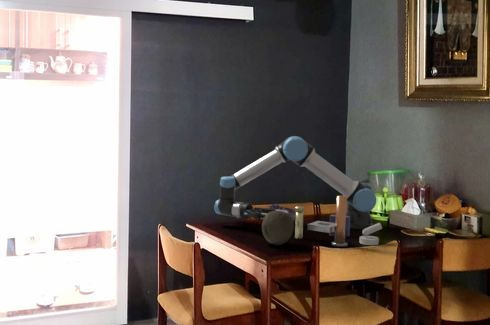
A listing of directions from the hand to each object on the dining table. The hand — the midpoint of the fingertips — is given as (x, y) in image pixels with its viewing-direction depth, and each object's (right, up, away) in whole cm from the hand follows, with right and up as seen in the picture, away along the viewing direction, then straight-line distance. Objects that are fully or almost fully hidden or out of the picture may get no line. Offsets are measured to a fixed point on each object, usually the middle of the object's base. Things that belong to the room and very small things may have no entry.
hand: (280, 215), depth 283 cm
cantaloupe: (-3, -11, -20) cm, 23 cm away
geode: (+2, -7, +37) cm, 37 cm away
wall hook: (+40, -12, -11) cm, 43 cm away
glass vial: (+8, -10, -5) cm, 14 cm away
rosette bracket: (+21, -11, -15) cm, 28 cm away
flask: (+28, -10, +3) cm, 30 cm away
